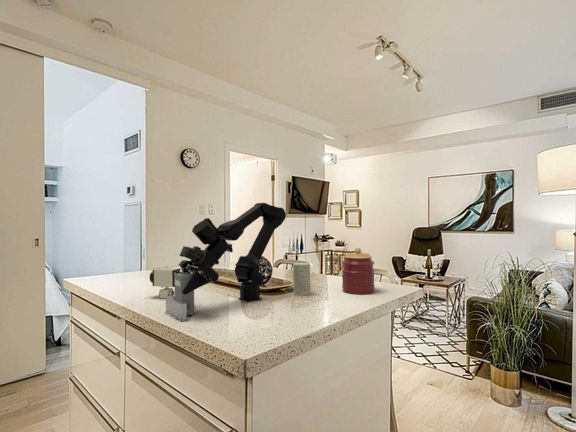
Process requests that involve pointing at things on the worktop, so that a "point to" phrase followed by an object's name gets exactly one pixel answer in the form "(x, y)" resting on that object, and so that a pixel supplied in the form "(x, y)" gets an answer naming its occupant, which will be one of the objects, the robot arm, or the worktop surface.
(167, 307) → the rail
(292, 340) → the worktop surface
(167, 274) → the pneumatic valve
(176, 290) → the block
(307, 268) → the skincare box
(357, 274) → the canister
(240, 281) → the robot arm
